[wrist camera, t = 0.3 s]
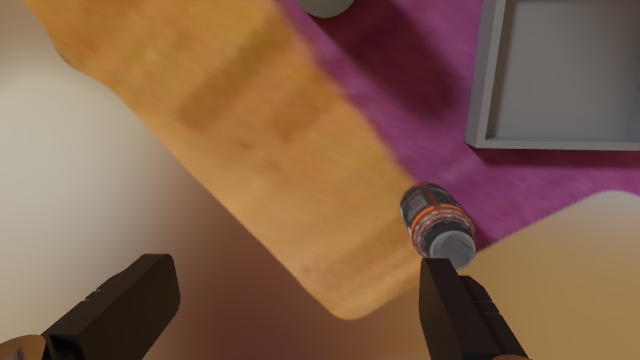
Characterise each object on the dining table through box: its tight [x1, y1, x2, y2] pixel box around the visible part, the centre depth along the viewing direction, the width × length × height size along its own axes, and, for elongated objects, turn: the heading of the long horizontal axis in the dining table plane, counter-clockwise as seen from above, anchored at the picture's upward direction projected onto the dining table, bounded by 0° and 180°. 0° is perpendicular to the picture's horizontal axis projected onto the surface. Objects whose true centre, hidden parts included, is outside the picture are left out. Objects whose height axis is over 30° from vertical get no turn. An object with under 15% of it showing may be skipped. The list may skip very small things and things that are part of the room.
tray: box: [464, 0, 640, 151], centre depth 31 cm, size 17×17×4 cm
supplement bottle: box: [400, 183, 476, 270], centre depth 33 cm, size 6×6×11 cm
